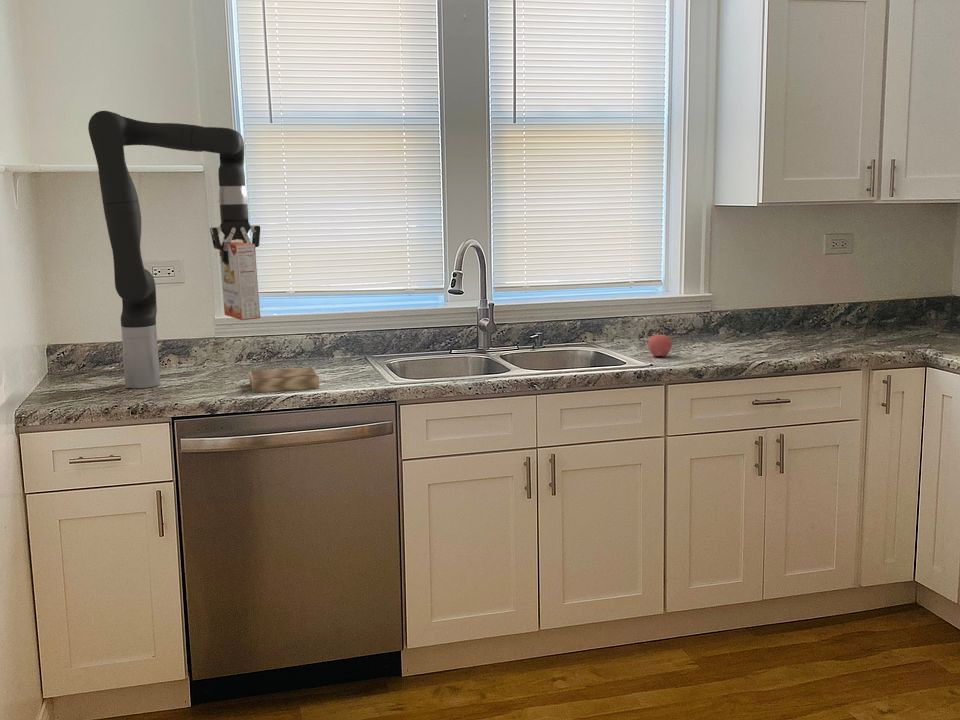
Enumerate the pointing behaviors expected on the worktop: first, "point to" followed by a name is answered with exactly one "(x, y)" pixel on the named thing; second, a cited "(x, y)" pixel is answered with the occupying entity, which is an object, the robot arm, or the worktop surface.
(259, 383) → the podium
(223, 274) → the cracker box
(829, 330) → the worktop surface
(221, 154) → the robot arm
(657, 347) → the apple
